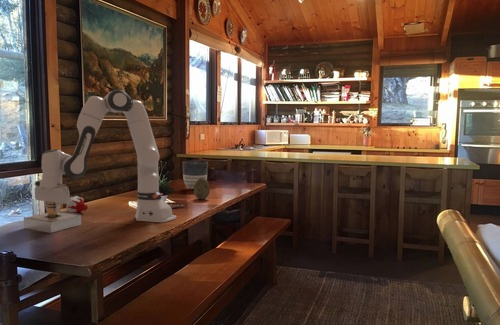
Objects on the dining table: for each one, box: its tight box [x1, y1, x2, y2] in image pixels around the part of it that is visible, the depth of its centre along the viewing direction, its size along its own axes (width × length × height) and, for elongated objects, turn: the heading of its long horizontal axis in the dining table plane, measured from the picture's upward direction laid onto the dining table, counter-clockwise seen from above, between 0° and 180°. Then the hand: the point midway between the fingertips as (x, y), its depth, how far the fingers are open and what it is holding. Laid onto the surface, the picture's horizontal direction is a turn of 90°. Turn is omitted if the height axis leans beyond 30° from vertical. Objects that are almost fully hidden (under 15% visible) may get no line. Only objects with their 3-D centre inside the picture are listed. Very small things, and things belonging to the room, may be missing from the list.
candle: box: [65, 195, 88, 214], centre depth 236 cm, size 9×11×15 cm
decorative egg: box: [193, 177, 211, 200], centre depth 284 cm, size 11×11×15 cm
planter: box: [182, 160, 209, 190], centre depth 325 cm, size 20×20×21 cm
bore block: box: [23, 210, 82, 234], centre depth 205 cm, size 18×18×5 cm
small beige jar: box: [46, 202, 58, 218], centre depth 205 cm, size 5×5×8 cm
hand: (52, 210), depth 205 cm, fingers closed on small beige jar, 5 cm apart
